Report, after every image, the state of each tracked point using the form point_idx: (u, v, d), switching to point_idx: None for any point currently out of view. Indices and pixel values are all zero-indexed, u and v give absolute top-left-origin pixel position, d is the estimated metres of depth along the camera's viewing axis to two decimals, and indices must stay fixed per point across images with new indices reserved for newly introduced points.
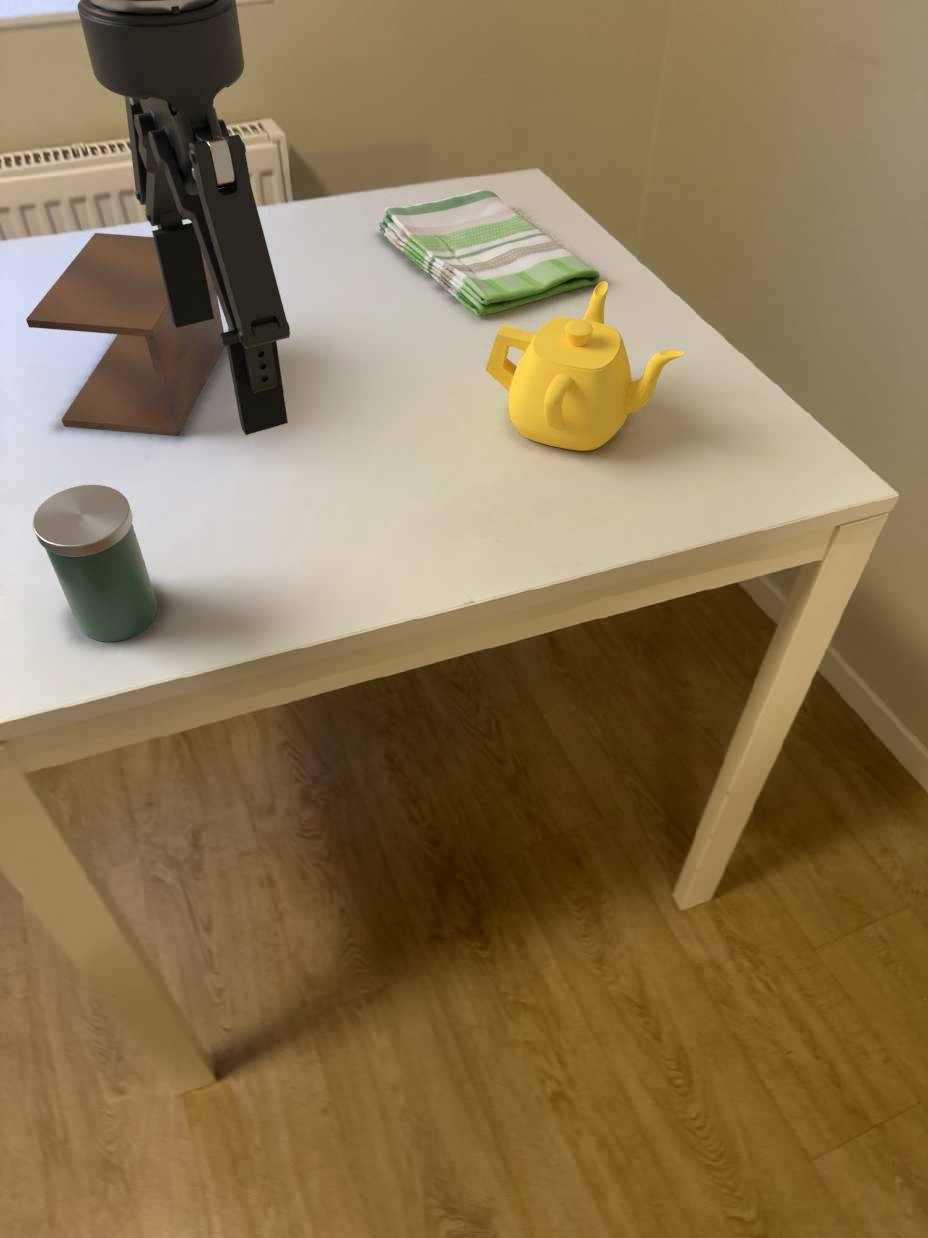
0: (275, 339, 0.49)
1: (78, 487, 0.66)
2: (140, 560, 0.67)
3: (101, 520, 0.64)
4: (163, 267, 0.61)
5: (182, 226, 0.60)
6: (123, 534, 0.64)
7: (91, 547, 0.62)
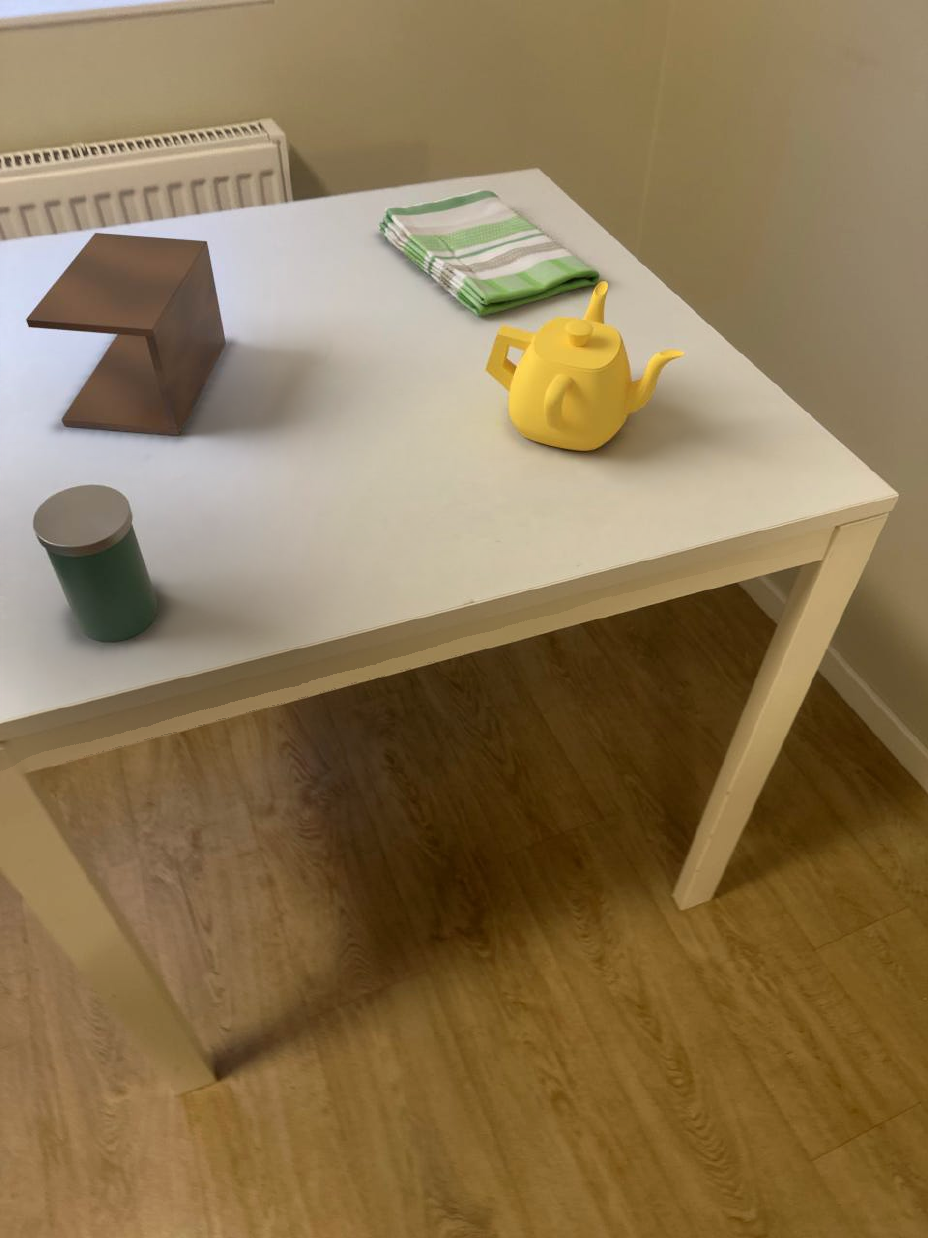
0: None
1: (78, 487, 0.66)
2: (140, 560, 0.67)
3: (101, 520, 0.64)
4: None
5: None
6: (123, 534, 0.64)
7: (91, 547, 0.62)
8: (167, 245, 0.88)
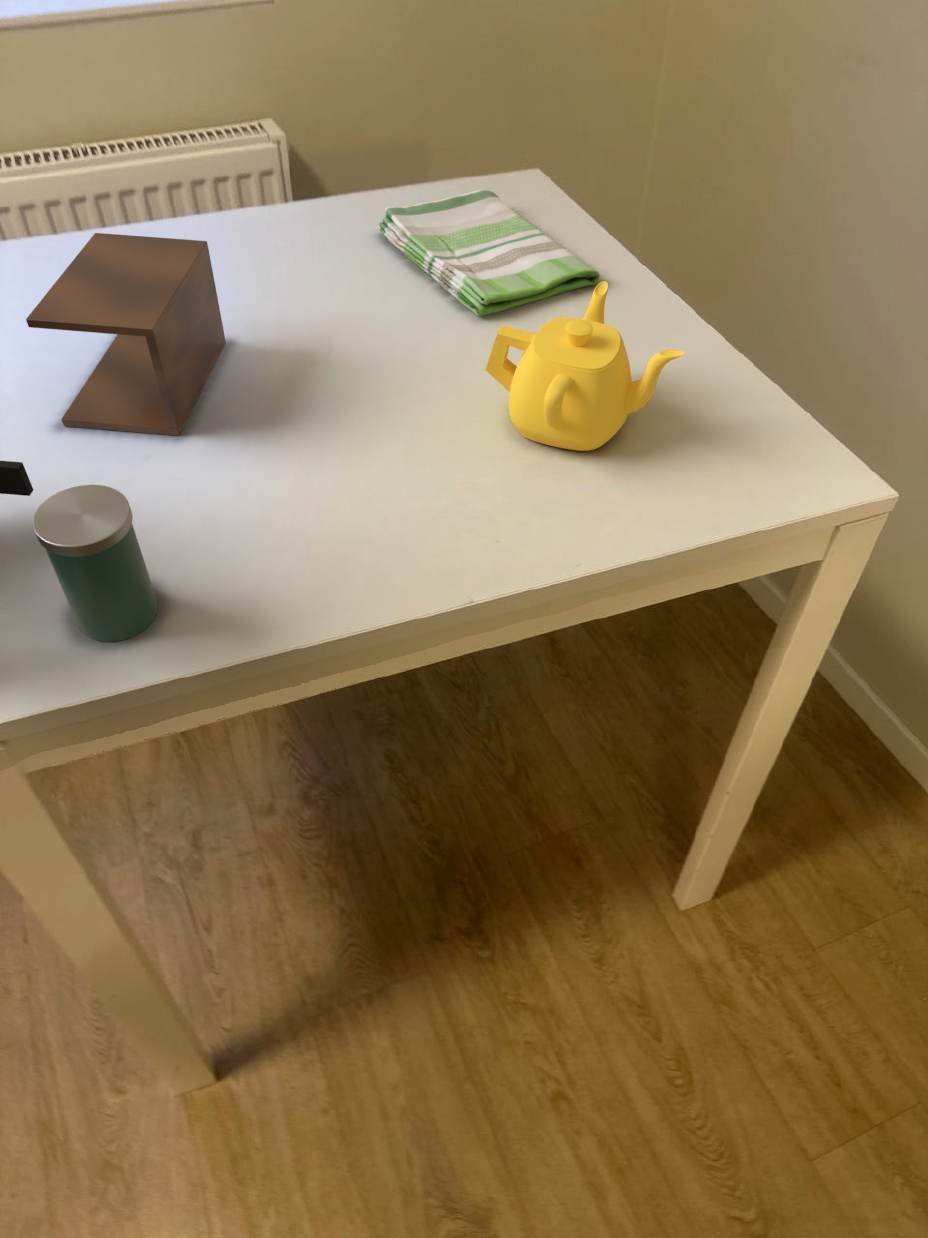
0: None
1: (78, 487, 0.66)
2: (140, 560, 0.67)
3: (101, 520, 0.64)
4: None
5: None
6: (123, 534, 0.64)
7: (91, 547, 0.62)
8: (167, 245, 0.88)
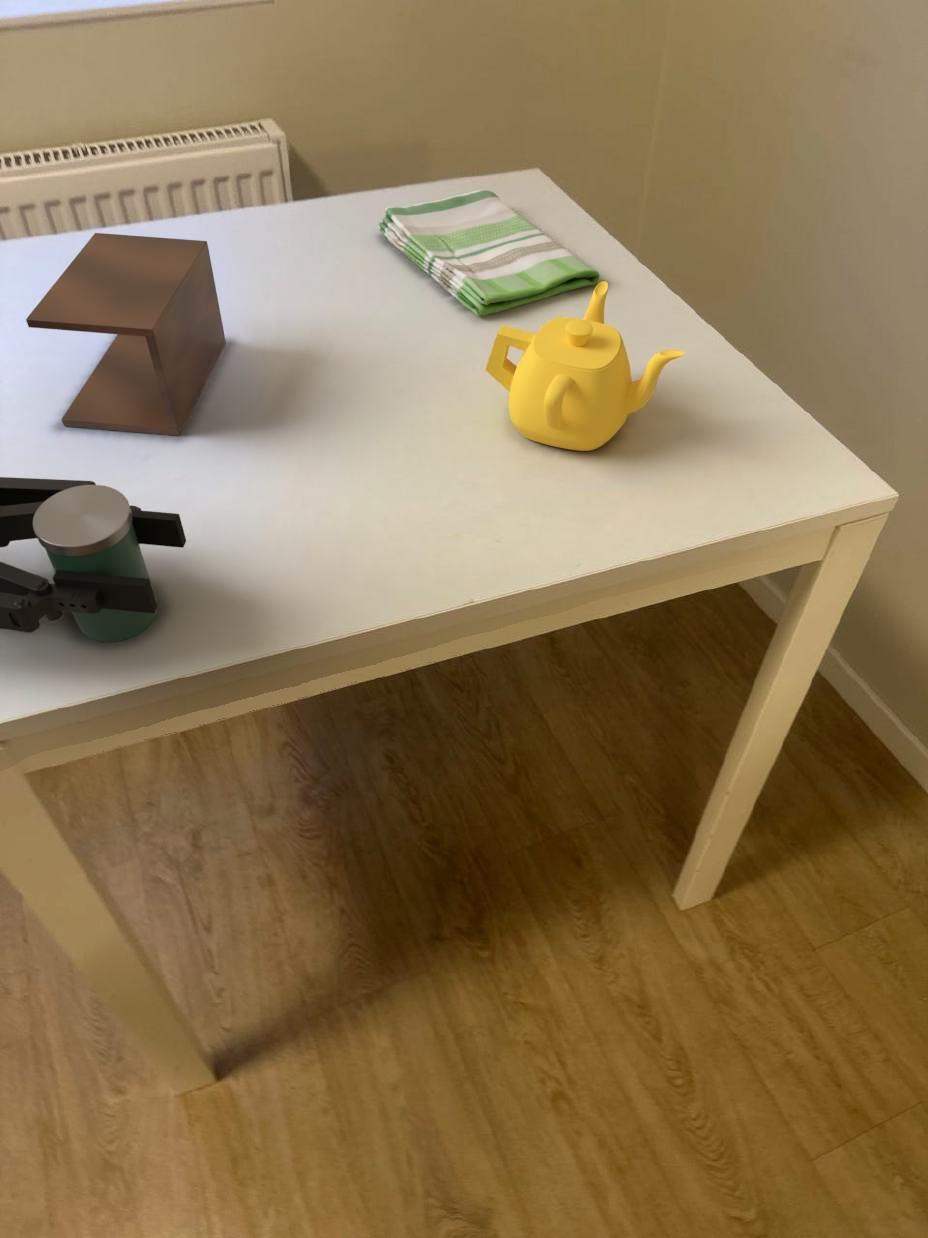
0: None
1: (78, 487, 0.66)
2: (140, 560, 0.67)
3: (101, 520, 0.64)
4: (87, 573, 0.64)
5: None
6: (123, 534, 0.64)
7: (91, 547, 0.62)
8: (167, 245, 0.88)
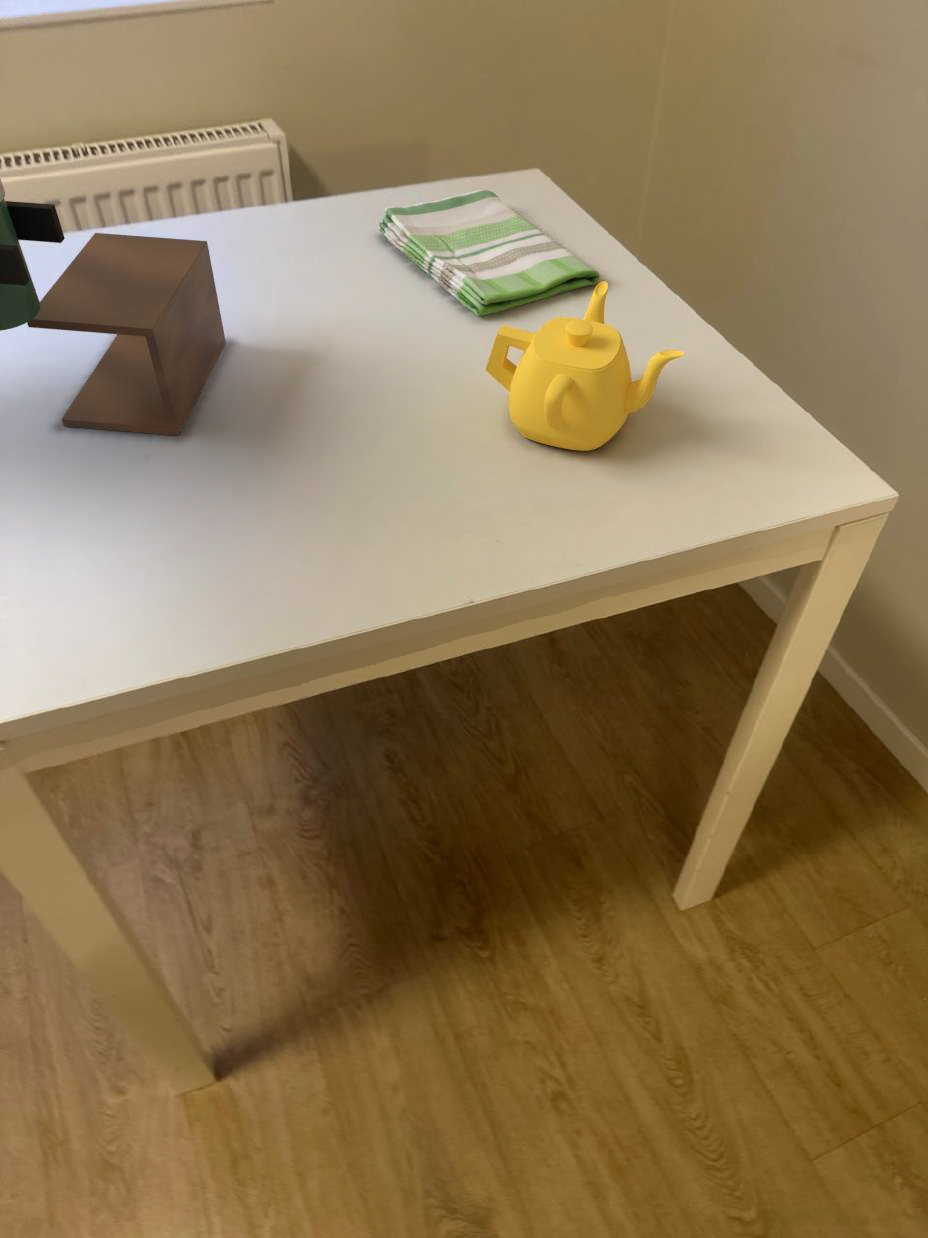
0: None
1: None
2: (16, 245, 0.71)
3: None
4: None
5: None
6: None
7: None
8: (167, 245, 0.88)
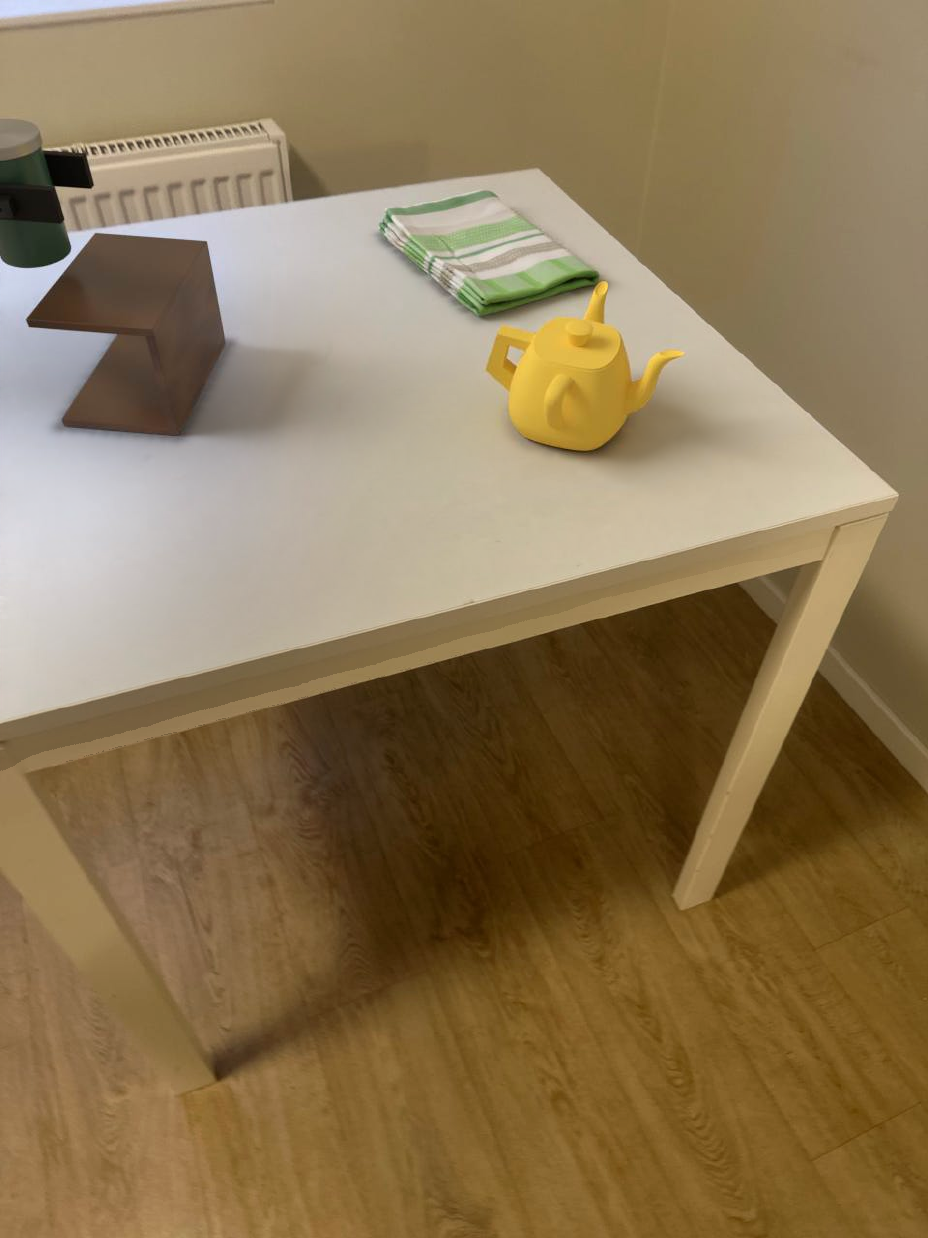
0: None
1: None
2: None
3: (14, 136, 0.75)
4: (2, 183, 0.75)
5: None
6: (33, 149, 0.75)
7: (4, 152, 0.74)
8: (167, 245, 0.88)
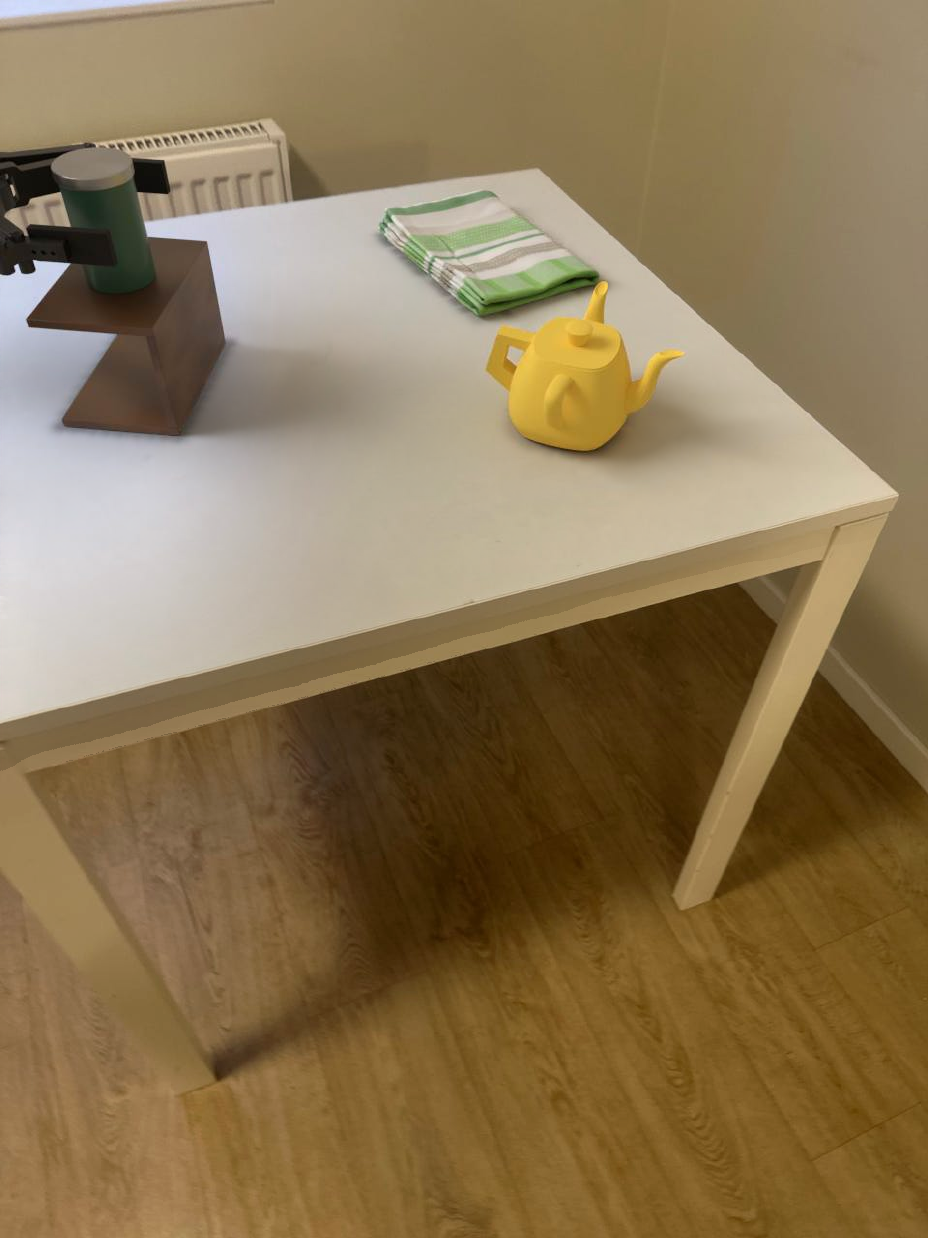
0: None
1: (89, 148, 0.78)
2: (141, 216, 0.80)
3: (108, 165, 0.76)
4: (56, 226, 0.74)
5: None
6: (127, 178, 0.76)
7: (100, 182, 0.75)
8: (167, 245, 0.88)
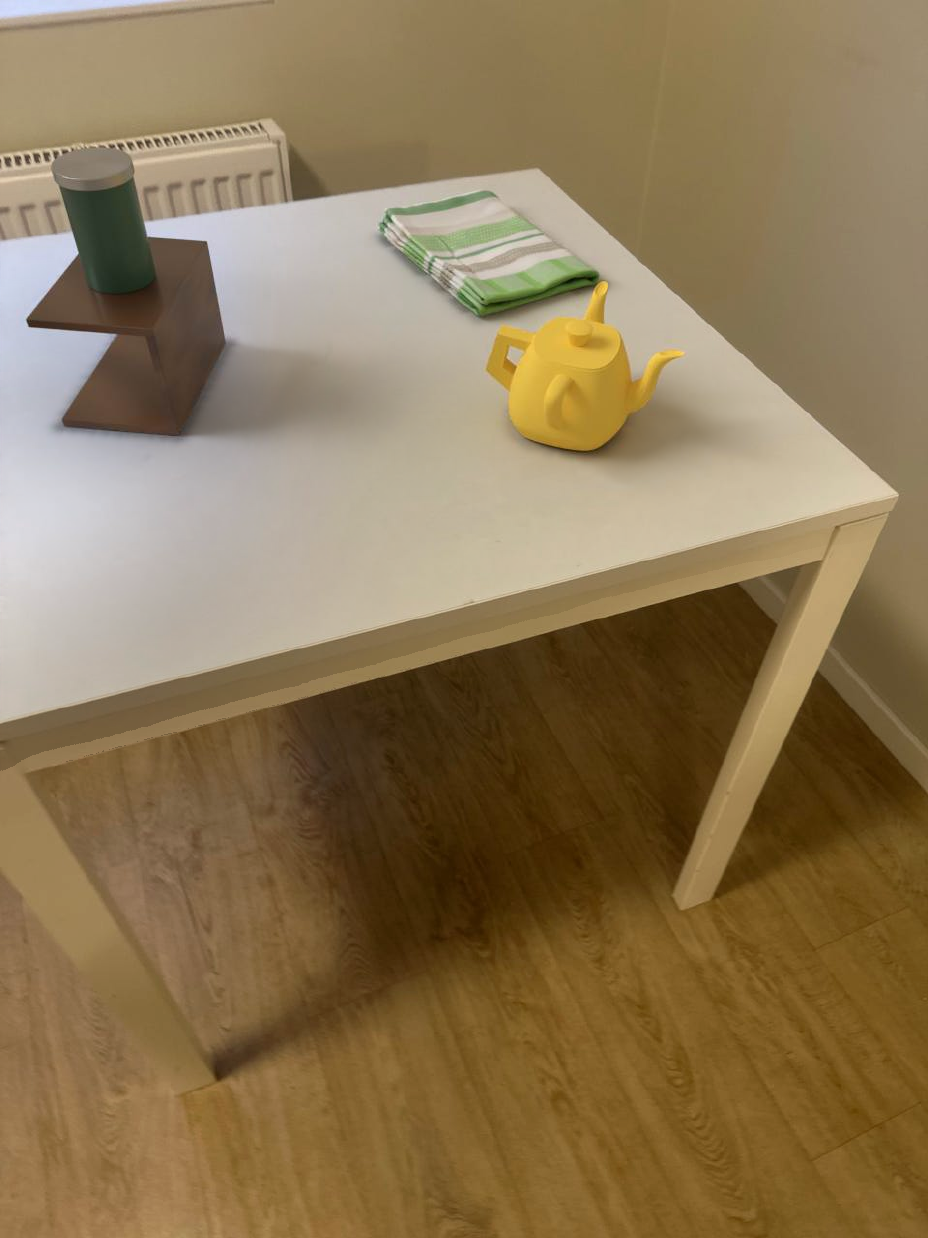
0: None
1: (89, 148, 0.78)
2: (141, 216, 0.80)
3: (108, 165, 0.76)
4: None
5: None
6: (127, 178, 0.76)
7: (100, 182, 0.75)
8: (167, 245, 0.88)
